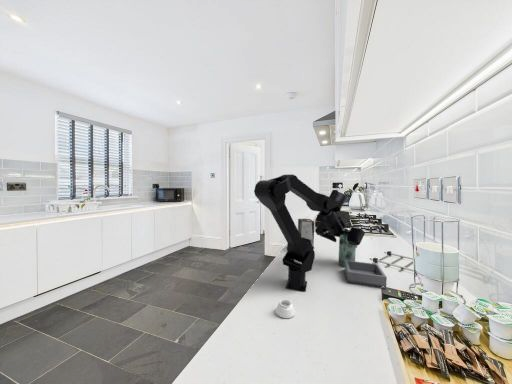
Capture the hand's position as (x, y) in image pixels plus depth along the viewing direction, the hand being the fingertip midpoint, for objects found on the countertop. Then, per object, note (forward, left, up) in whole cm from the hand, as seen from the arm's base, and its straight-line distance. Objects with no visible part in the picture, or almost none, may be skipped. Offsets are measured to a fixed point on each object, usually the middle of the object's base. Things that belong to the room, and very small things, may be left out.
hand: (345, 244), depth 88 cm
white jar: (-40, +18, -10) cm, 45 cm away
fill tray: (-10, -5, -9) cm, 15 cm away
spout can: (+1, -1, -9) cm, 9 cm away
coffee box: (+12, +17, -9) cm, 23 cm away
